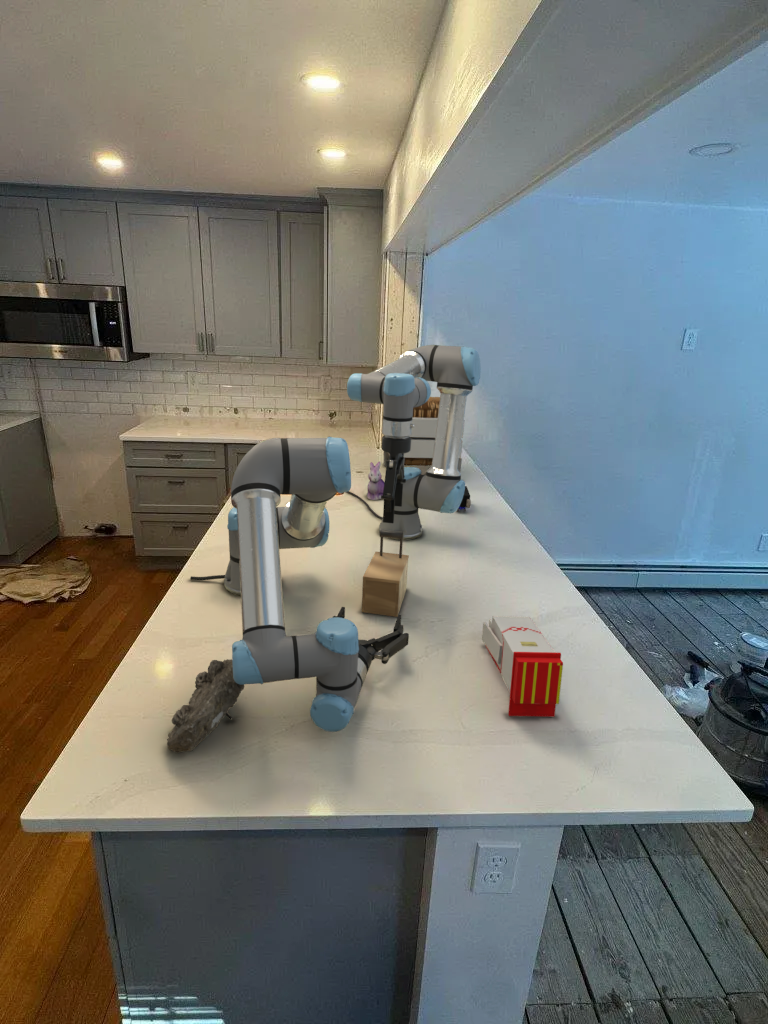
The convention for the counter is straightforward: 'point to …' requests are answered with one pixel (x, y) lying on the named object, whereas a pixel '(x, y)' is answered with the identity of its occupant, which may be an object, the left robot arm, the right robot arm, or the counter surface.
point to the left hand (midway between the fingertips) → (371, 615)
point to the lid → (387, 561)
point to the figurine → (375, 482)
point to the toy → (525, 665)
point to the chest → (383, 596)
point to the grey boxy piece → (424, 435)
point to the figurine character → (465, 500)
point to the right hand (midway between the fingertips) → (392, 513)
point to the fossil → (205, 706)
